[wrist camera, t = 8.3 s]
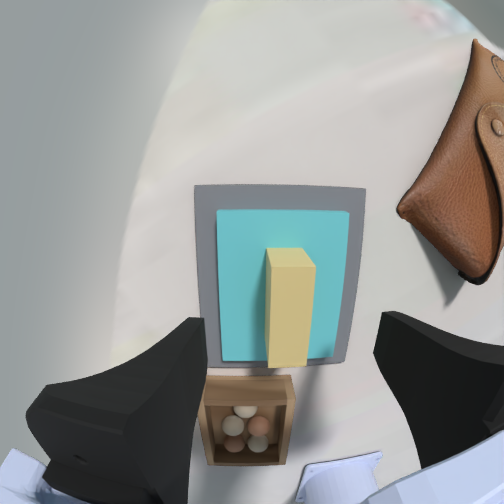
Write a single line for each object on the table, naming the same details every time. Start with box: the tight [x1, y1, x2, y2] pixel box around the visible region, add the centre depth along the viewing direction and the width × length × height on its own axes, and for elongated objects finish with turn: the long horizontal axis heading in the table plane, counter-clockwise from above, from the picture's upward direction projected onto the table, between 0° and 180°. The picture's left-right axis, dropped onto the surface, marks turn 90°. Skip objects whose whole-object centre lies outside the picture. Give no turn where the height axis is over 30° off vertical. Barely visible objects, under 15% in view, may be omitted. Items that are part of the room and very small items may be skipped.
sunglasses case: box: [397, 39, 504, 285], centre depth 13 cm, size 18×7×7 cm, turn 150°
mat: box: [194, 184, 366, 367], centre depth 16 cm, size 11×9×1 cm
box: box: [198, 375, 296, 466], centre depth 18 cm, size 8×6×2 cm
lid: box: [217, 209, 349, 368], centre depth 14 cm, size 9×7×4 cm
